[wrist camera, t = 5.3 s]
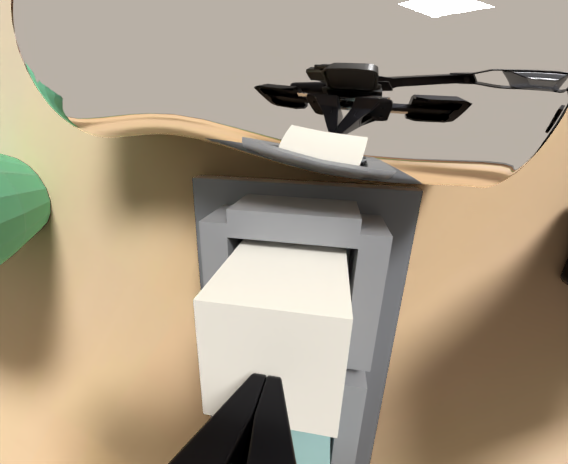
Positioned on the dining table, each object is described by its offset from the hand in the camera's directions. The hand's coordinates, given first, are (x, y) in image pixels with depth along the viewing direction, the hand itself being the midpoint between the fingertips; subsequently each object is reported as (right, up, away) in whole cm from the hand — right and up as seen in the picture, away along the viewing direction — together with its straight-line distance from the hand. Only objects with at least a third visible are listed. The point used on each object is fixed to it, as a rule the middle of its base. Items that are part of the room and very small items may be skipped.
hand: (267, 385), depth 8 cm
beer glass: (-7, +11, +3) cm, 14 cm away
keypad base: (+1, -4, +10) cm, 11 cm away
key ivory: (+1, +2, +5) cm, 6 cm away
